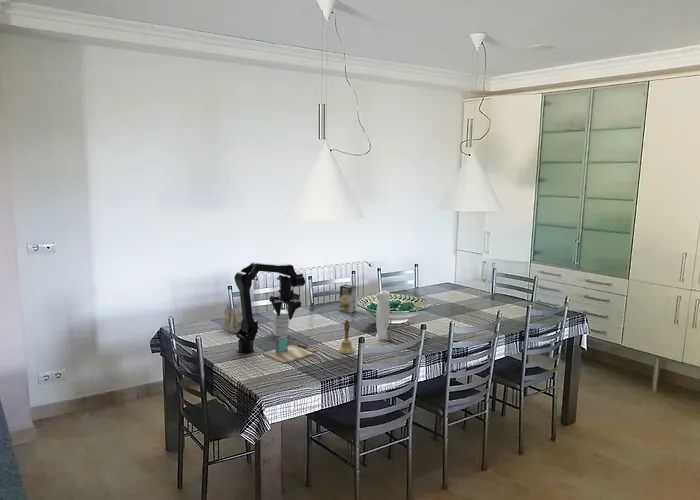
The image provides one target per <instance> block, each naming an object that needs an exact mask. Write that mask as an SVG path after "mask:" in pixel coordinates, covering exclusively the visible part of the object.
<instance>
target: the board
mask: <svg viewBox="0 0 700 500" xmlns="http://www.w3.org/2000/svg"><path fill="white" fill-rule="evenodd" d="M275 351H276V348H275V349H273V350H269V351H265V352H263V355H264V356H266V357H268V358H271V359H273V360H275V361H278V362H280V363H282V364H287V363H291V362H294V361H297V360H300V359H304V358H307V357H310V356H313V355H314V352H310V351H308V350H306V349H305V348H301V347H300V346H299V347H298V346H296V345H294V344H290V345H289V344H288V350H287V351H284V352H281V353H276V352H275Z"/></svg>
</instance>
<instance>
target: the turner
mask: <svg viewBox="0 0 700 500" xmlns="http://www.w3.org/2000/svg"><path fill="white" fill-rule="evenodd" d="M297 345H298V346H299V347H300V348H301V347H302V348H303V349H305V350H307V351H309V352H312V353H316V352H318V349H316V348H313V347H309V346H306V345H304V344H301V343H298V344H297Z"/></svg>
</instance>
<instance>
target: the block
mask: <svg viewBox="0 0 700 500" xmlns="http://www.w3.org/2000/svg"><path fill="white" fill-rule="evenodd" d="M288 346H289V337H288V336H278V337H276V338H275V349H276V351H275V352H276V353H281V352H284V351H287V350H288Z"/></svg>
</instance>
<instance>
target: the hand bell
mask: <svg viewBox="0 0 700 500" xmlns="http://www.w3.org/2000/svg"><path fill="white" fill-rule="evenodd" d="M343 326H344V327H343V328H344V339H342V341H341V345H340V347H339V348H338V350H337V351H338V352H339V353H340V354H343V353H344V354H343V355H346V354H345V353H351V354H354V353H355V352H354V351H355V348H353V346H352V341H351V339H350V338H349V332H350V322H349V320H348V319H346V320H345V321H344V325H343ZM353 352H354V353H353Z"/></svg>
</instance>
